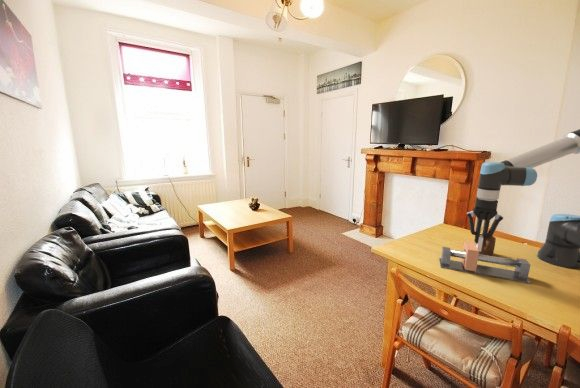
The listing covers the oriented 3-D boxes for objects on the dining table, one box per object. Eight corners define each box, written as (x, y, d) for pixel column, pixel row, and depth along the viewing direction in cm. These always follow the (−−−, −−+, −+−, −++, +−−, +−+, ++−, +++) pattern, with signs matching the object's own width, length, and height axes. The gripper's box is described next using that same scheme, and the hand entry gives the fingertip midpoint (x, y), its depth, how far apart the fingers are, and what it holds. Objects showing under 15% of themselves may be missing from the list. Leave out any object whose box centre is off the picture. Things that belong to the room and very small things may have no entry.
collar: (471, 262, 121) (474, 243, 119) (475, 271, 113) (479, 251, 111) (461, 260, 123) (464, 241, 121) (464, 269, 114) (468, 249, 112)
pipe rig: (522, 273, 113) (525, 257, 112) (530, 283, 105) (534, 266, 104) (439, 259, 127) (441, 244, 125) (440, 267, 119) (442, 251, 117)
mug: (495, 261, 124) (499, 243, 122) (476, 258, 128) (479, 240, 125) (491, 252, 134) (494, 235, 132) (473, 249, 138) (476, 232, 136)
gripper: (503, 198, 110) (494, 249, 115) (467, 195, 116) (459, 244, 121) (509, 202, 104) (498, 256, 109) (470, 199, 109) (462, 250, 114)
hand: (478, 250), depth 115 cm, fingers closed
